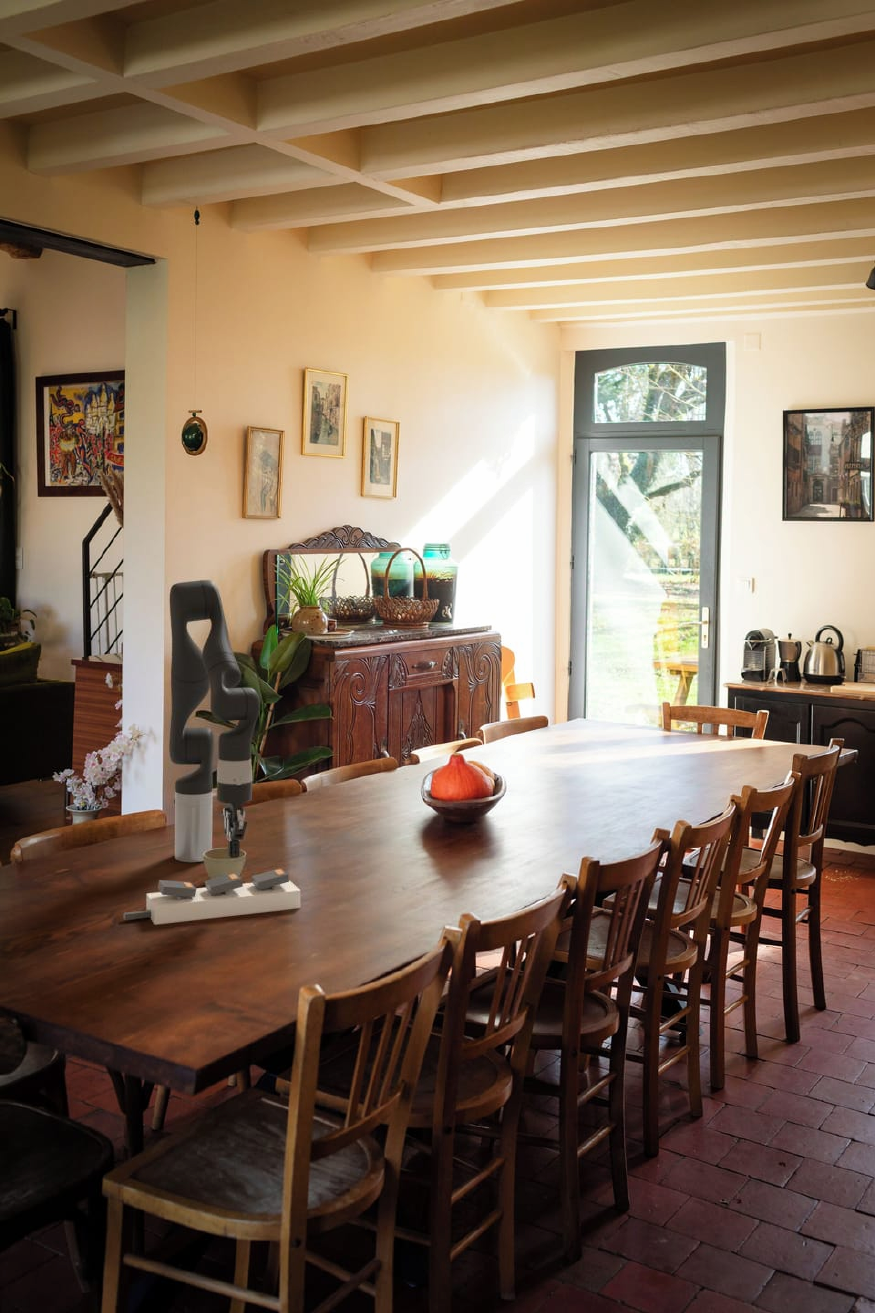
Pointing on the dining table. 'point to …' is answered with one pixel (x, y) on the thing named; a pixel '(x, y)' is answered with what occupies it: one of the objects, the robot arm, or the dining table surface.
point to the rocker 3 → (270, 879)
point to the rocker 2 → (223, 883)
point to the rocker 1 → (176, 888)
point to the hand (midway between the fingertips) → (233, 856)
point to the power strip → (218, 903)
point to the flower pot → (222, 862)
